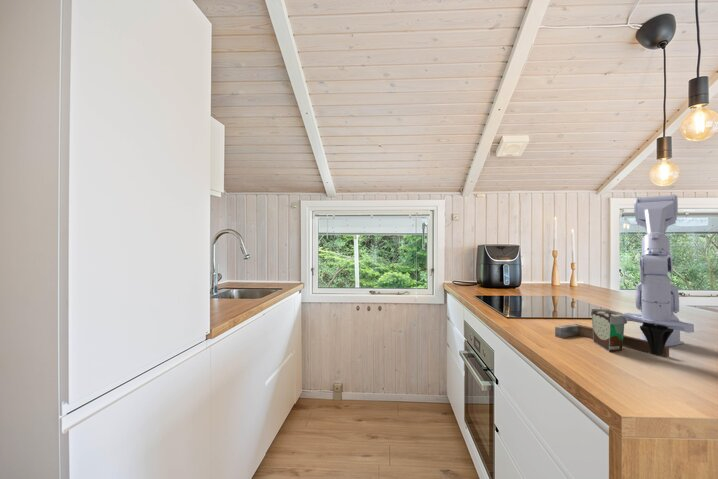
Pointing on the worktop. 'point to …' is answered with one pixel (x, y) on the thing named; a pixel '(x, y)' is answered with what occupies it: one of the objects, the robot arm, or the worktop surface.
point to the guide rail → (588, 332)
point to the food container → (608, 329)
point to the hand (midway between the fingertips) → (656, 353)
